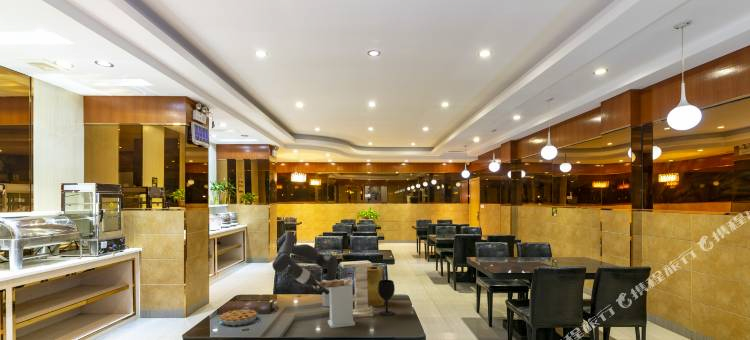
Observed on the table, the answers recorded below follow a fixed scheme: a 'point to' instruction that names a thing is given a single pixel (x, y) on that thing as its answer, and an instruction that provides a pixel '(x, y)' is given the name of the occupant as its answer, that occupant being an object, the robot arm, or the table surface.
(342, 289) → the white flanged block
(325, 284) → the peg
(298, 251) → the robot arm
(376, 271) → the pitcher
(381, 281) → the wine glass
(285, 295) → the table surface
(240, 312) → the pie
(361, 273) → the square pedestal column
